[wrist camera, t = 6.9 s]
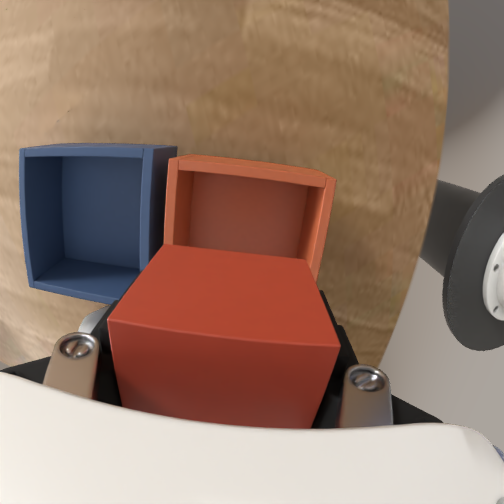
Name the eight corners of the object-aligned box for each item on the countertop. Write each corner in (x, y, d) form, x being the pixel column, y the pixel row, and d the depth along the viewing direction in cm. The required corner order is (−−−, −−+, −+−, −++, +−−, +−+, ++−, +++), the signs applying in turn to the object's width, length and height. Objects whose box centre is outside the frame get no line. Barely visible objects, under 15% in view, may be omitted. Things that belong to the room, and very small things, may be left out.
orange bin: (317, 170, 22) (337, 179, 16) (296, 287, 25) (306, 325, 20) (189, 153, 21) (168, 158, 16) (180, 273, 24) (162, 307, 19)
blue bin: (177, 146, 21) (153, 148, 16) (169, 277, 25) (149, 312, 19) (61, 143, 21) (19, 148, 16) (63, 260, 24) (29, 287, 19)
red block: (306, 259, 11) (342, 345, 6) (282, 368, 13) (293, 467, 8) (163, 243, 11) (105, 318, 6) (164, 355, 12) (132, 449, 8)
